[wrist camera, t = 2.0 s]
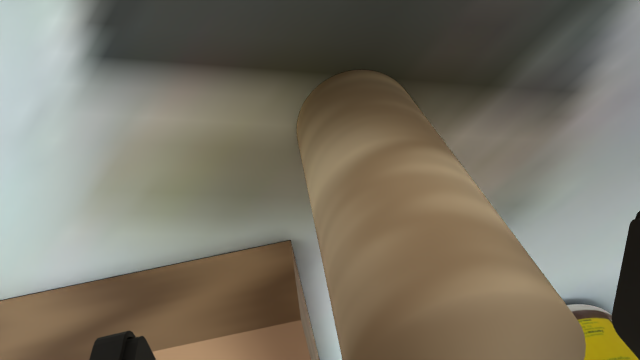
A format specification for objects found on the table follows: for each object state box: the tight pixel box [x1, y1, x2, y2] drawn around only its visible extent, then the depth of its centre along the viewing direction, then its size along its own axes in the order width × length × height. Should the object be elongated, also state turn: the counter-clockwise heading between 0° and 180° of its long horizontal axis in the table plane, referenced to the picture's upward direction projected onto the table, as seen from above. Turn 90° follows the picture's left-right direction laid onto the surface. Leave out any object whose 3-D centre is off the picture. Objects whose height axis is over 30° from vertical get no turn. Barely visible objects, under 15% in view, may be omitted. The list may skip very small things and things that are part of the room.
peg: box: [297, 70, 586, 360], centre depth 13 cm, size 4×4×10 cm
